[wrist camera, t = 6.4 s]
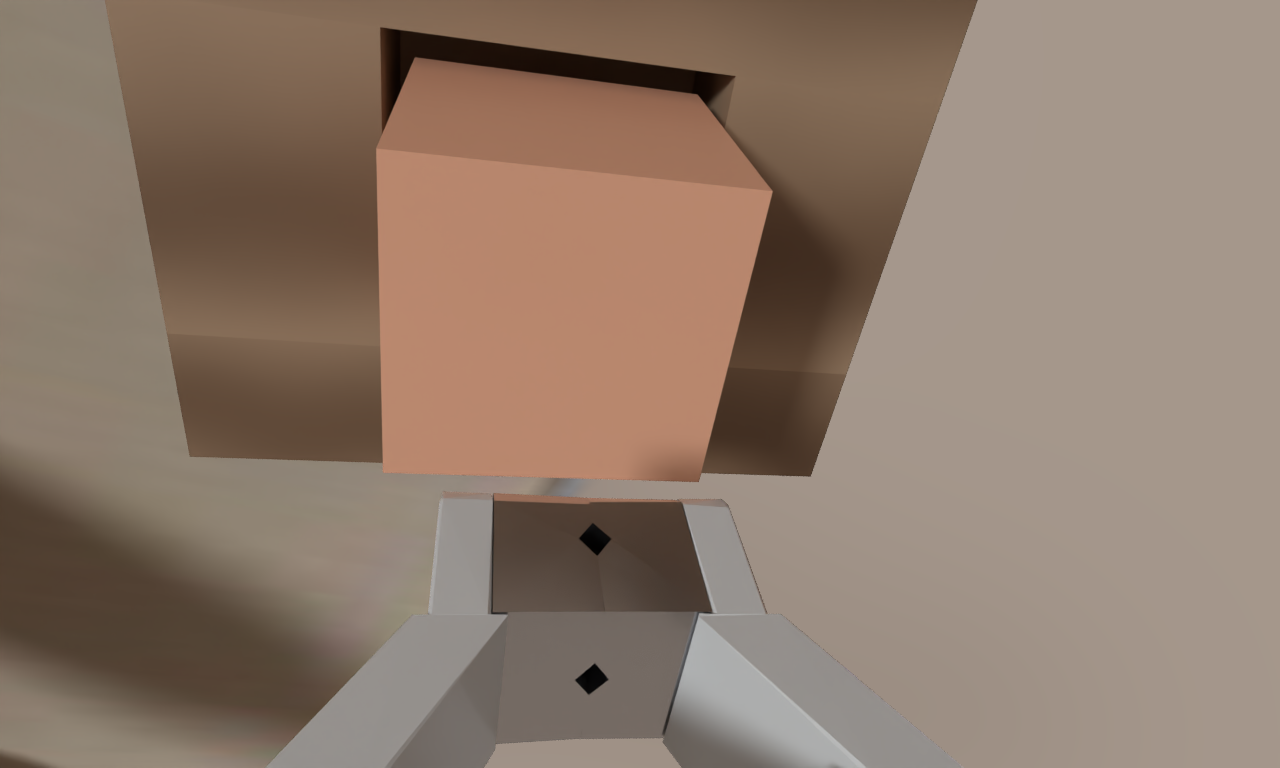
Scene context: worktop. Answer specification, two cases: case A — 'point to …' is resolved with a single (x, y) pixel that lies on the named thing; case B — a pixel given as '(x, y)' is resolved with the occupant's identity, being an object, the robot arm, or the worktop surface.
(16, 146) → the worktop surface
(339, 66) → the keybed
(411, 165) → the terracotta key
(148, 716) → the worktop surface
